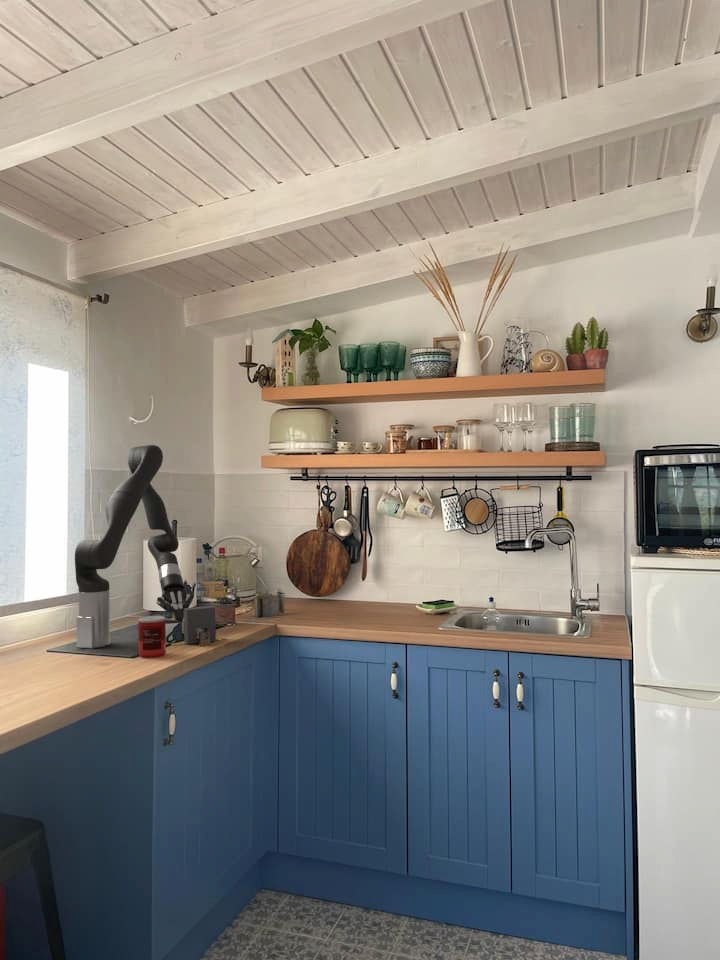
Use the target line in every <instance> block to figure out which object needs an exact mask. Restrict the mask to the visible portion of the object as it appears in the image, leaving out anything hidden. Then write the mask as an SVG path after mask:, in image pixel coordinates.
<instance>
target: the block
mask: <svg viewBox="0 0 720 960" xmlns="http://www.w3.org/2000/svg"><path fill="white" fill-rule="evenodd" d="M183 614H184V618H183V622H184V635H183V636H184V638H183V639H184V643H186V644H188V645H189V644H191V645H192V644H197V643H198V644H199V637H197V635H196V629H203V630H204V631H209V632H210V642H217V641H216V639H217V638H216V637H217V636H216V635H217V634H216V631H217V628H216V626H217V625H216V620H215V606H213V605H206V606H195V607H188V608H184V611H183Z"/></svg>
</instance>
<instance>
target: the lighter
mask: <svg viewBox="0 0 720 960" xmlns="http://www.w3.org/2000/svg"><path fill="white" fill-rule="evenodd" d="M215 601H219V602H217V603H214V607H215V620H216V624H226V625H225V626H228V625H227V624H231V625H230V626H234V625H233V624H236V625H237V618H236V606H237V603H233V601H234V600H233V597H229V596H216V600H215Z"/></svg>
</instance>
